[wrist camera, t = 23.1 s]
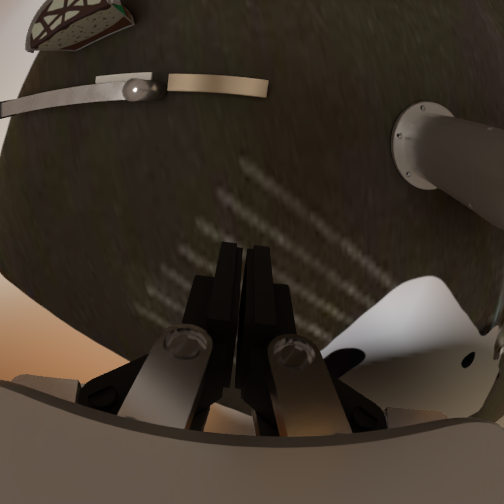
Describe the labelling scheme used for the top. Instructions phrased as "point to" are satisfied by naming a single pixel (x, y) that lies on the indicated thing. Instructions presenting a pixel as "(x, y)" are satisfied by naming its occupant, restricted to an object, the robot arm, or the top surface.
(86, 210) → the top surface
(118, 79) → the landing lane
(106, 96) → the retention gate
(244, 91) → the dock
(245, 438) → the robot arm
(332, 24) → the top surface
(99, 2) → the food container
